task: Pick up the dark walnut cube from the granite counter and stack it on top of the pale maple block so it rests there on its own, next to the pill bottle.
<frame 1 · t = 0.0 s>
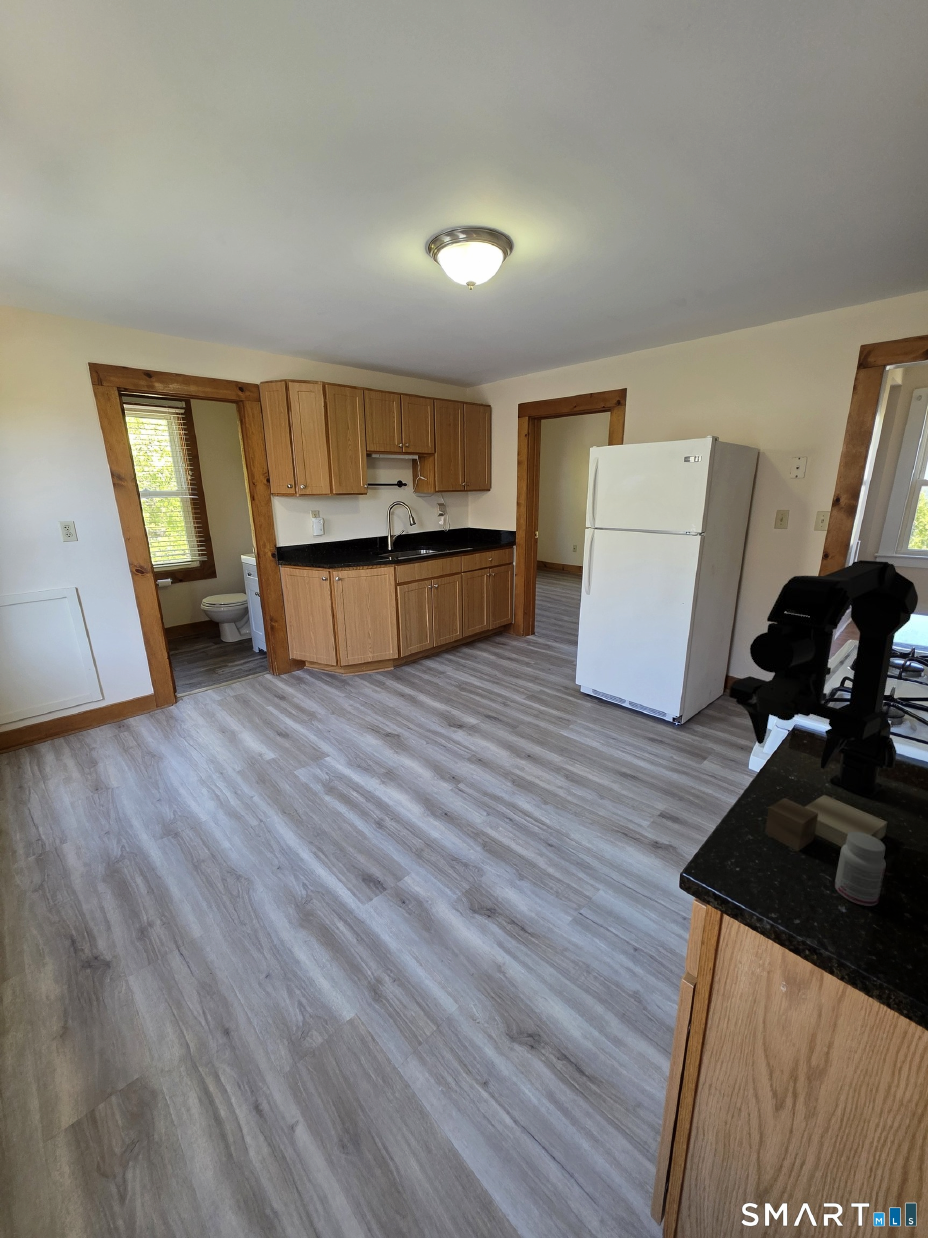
hand: (790, 754, 75), 15 cm above the countertop, fingers open, 9 cm apart
maple block: (839, 832, 80), on the countertop
pill bottle: (855, 895, 66), on the countertop
walnut cube: (788, 837, 78), on the countertop
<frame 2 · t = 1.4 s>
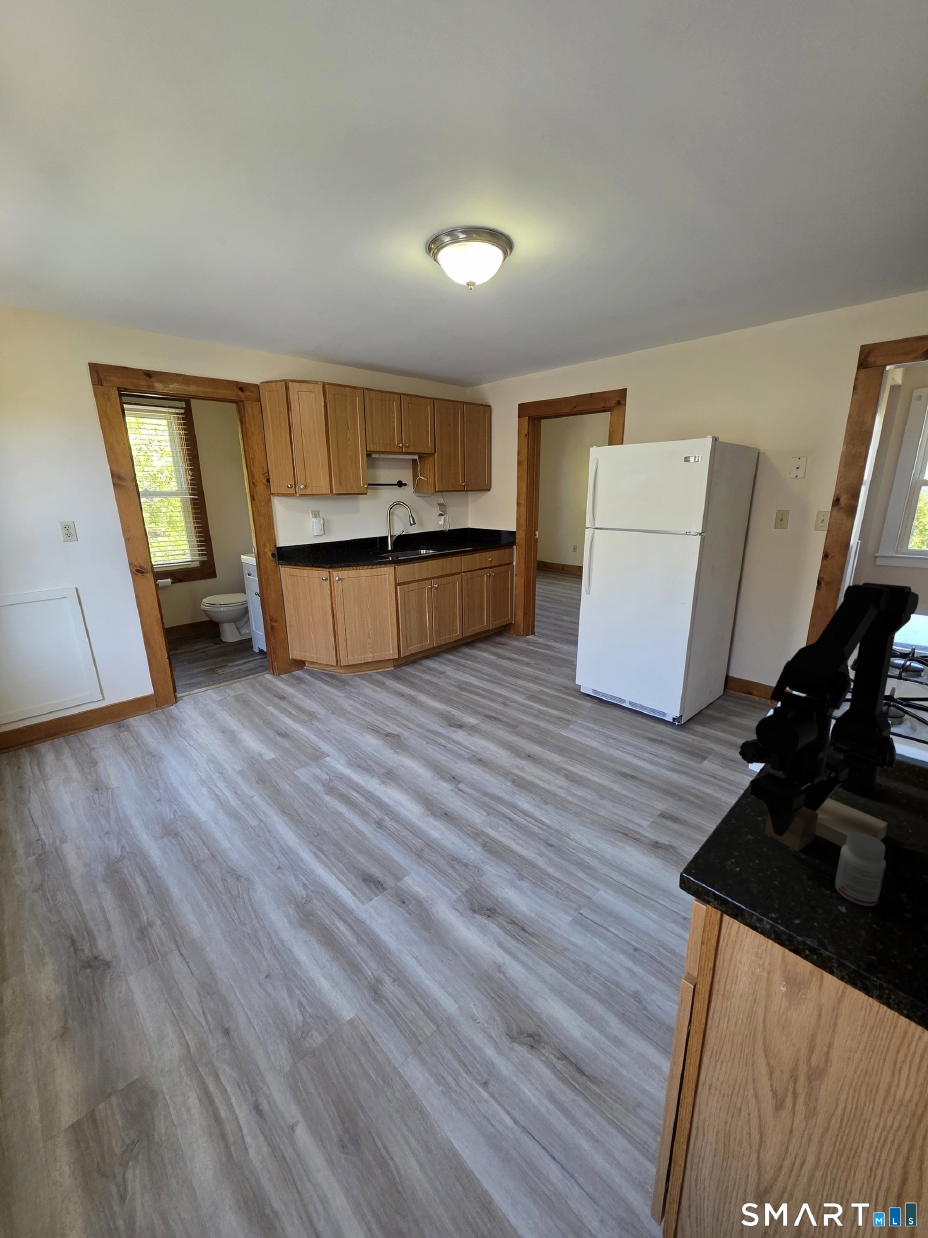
hand: (793, 825, 77), 2 cm above the countertop, fingers open, 9 cm apart
maple block: (839, 833, 80), on the countertop, touching gripper
everything else where it was.
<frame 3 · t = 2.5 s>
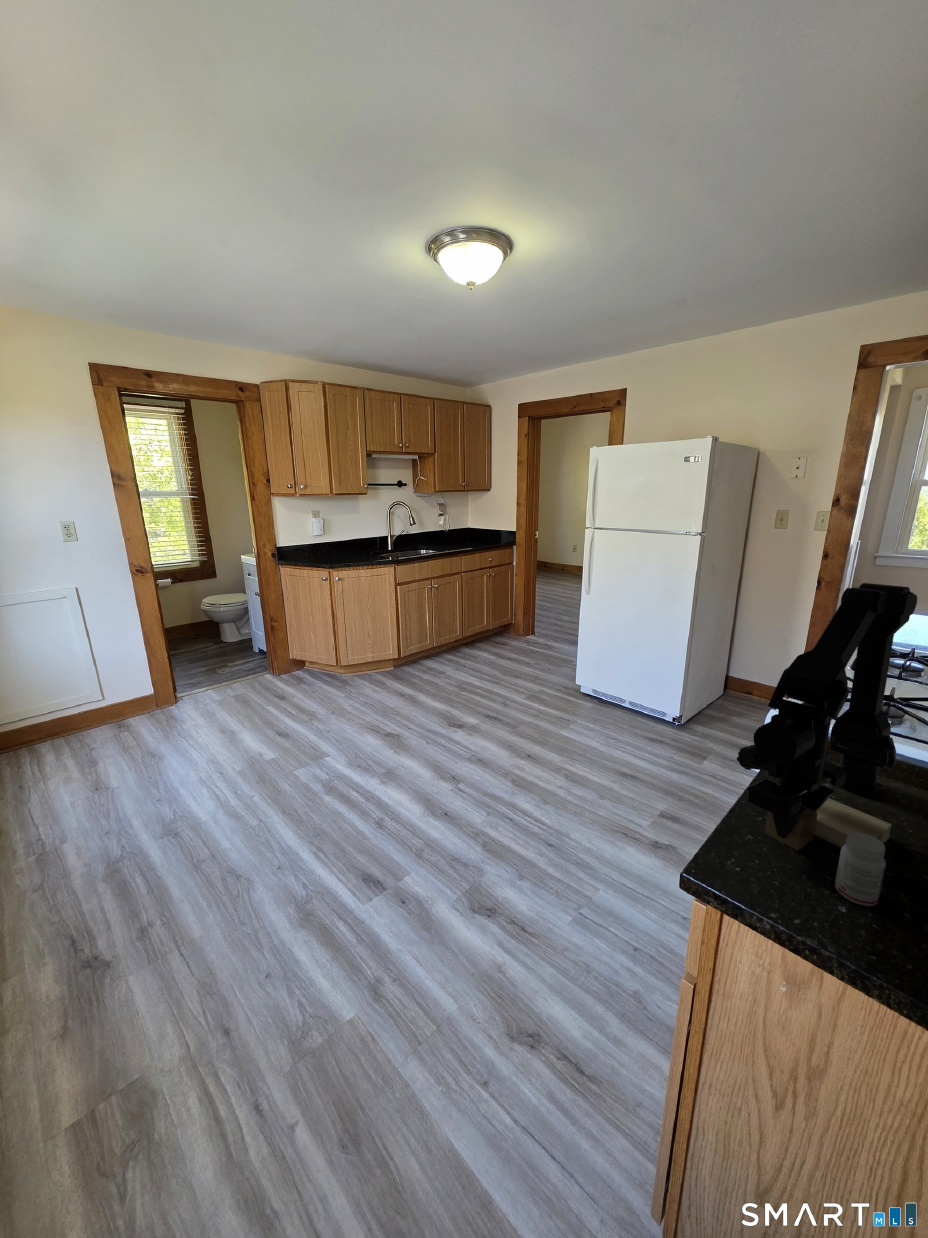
hand: (790, 831, 78), 1 cm above the countertop, fingers closed on walnut cube, 5 cm apart
maple block: (843, 835, 79), on the countertop
walnut cube: (788, 836, 78), on the countertop, touching gripper
everything else where it was.
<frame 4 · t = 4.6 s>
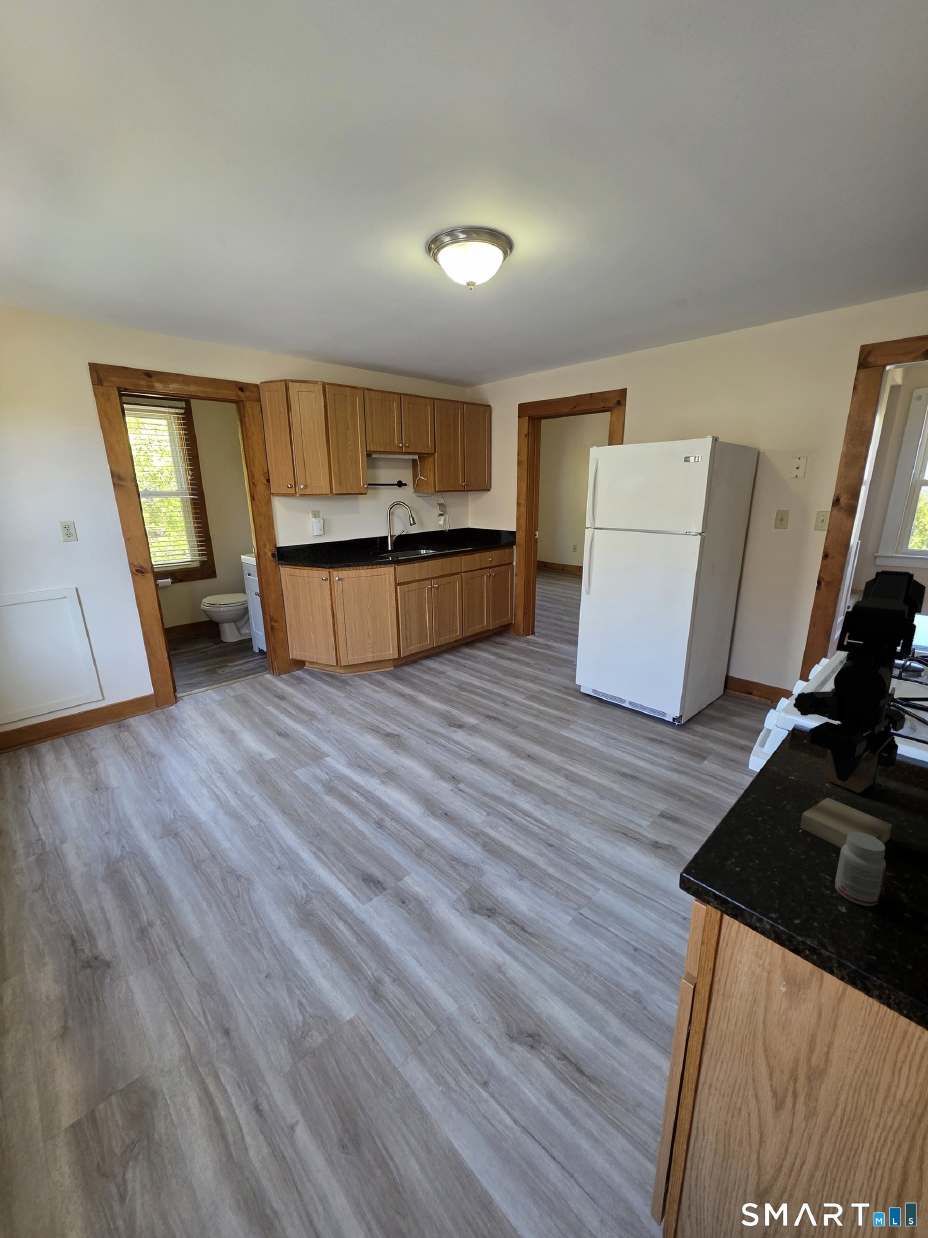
hand: (849, 775, 78), 10 cm above the countertop, fingers closed on walnut cube, 5 cm apart
walnut cube: (847, 781, 78), point 9 cm above the countertop, touching gripper
everything else where it was.
when the fingers open (4 cm above the countertop, at t = 6.6 s): walnut cube stays where it is, point 3 cm above the countertop.
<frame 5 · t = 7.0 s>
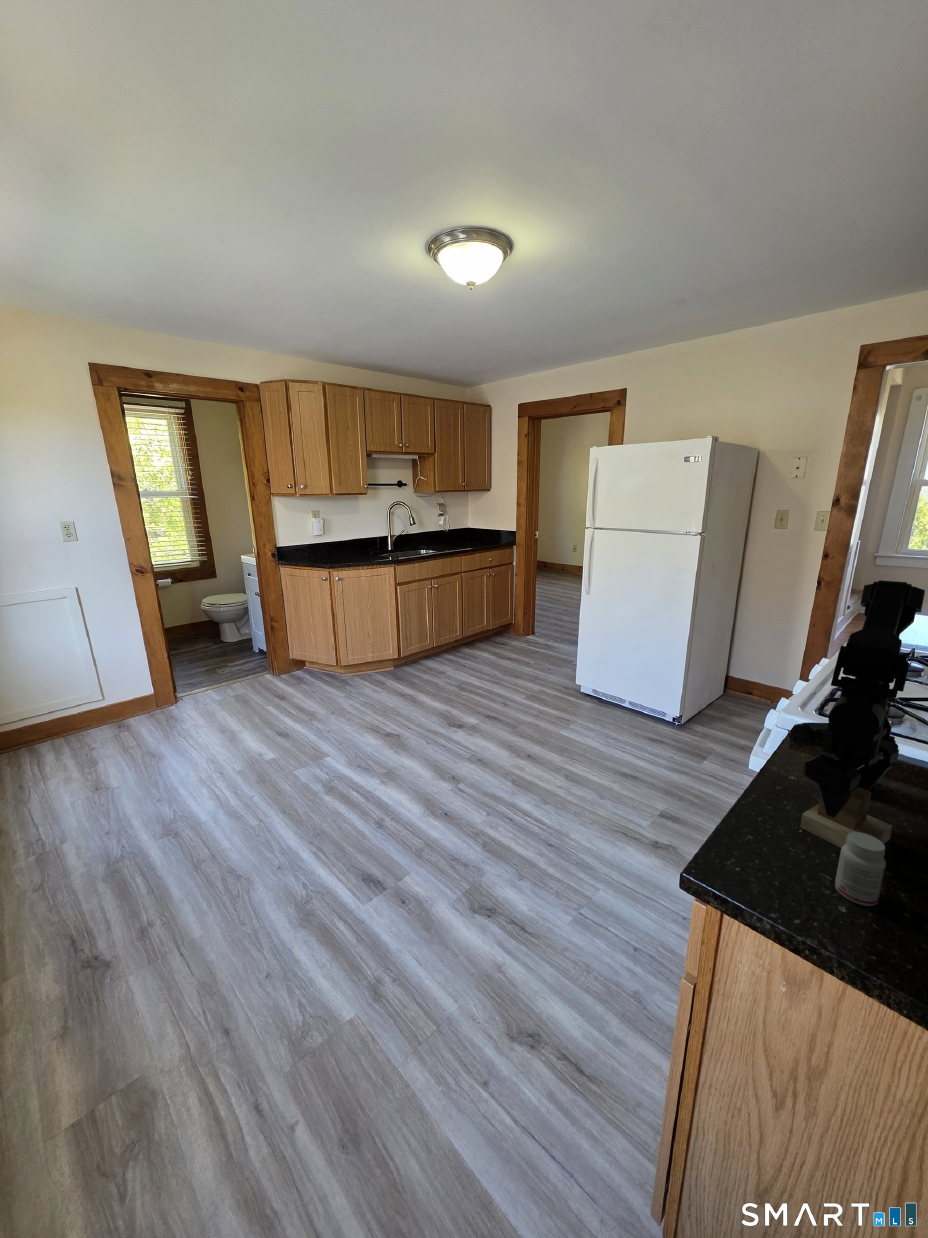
hand: (843, 807, 79), 4 cm above the countertop, fingers open, 9 cm apart
walnut cube: (841, 816, 79), point 3 cm above the countertop
everything else where it was.
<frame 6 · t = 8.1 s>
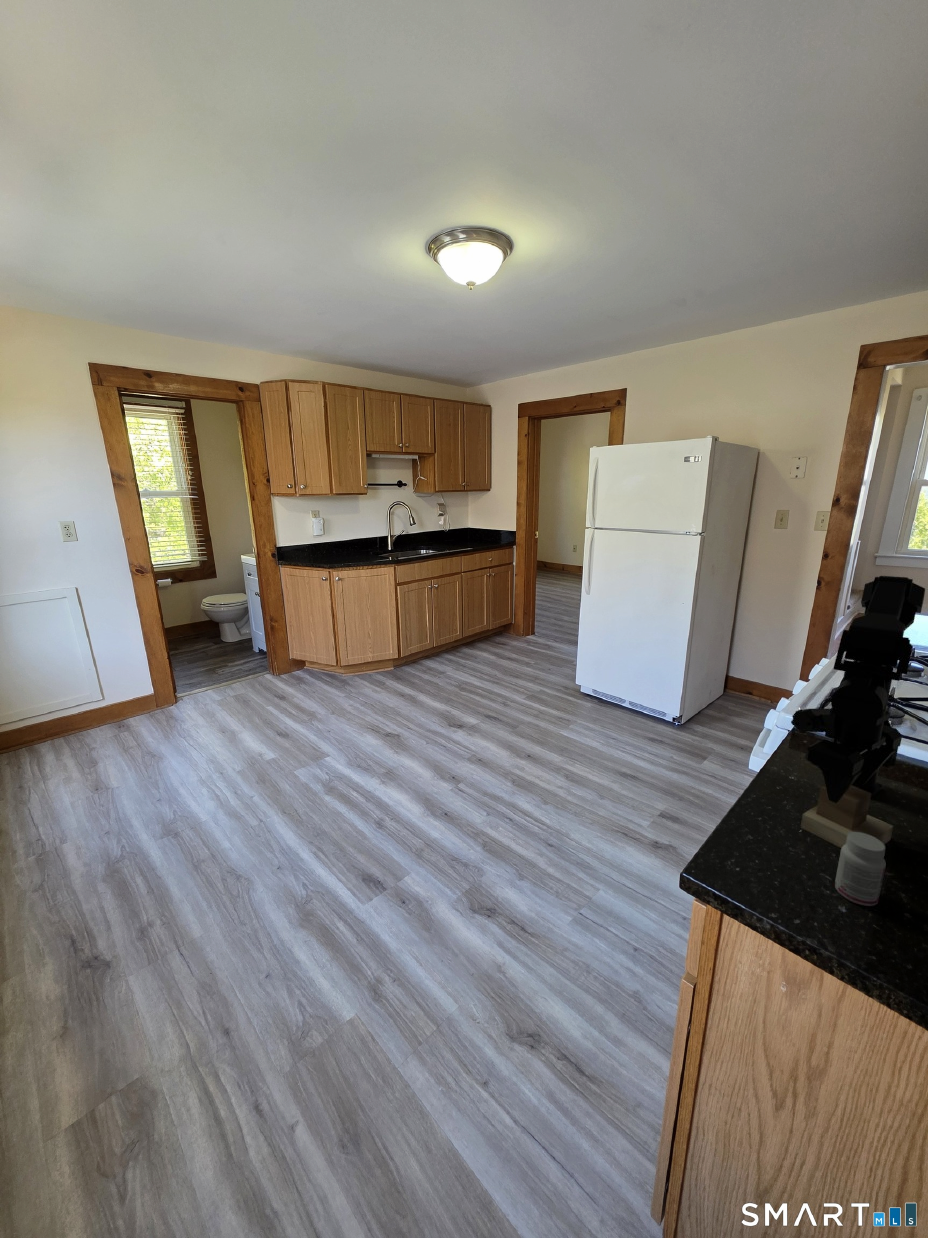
hand: (846, 792, 78), 7 cm above the countertop, fingers open, 9 cm apart
maple block: (844, 836, 79), on the countertop, touching walnut cube
walnut cube: (840, 817, 79), point 2 cm above the countertop, touching maple block
everything else where it was.
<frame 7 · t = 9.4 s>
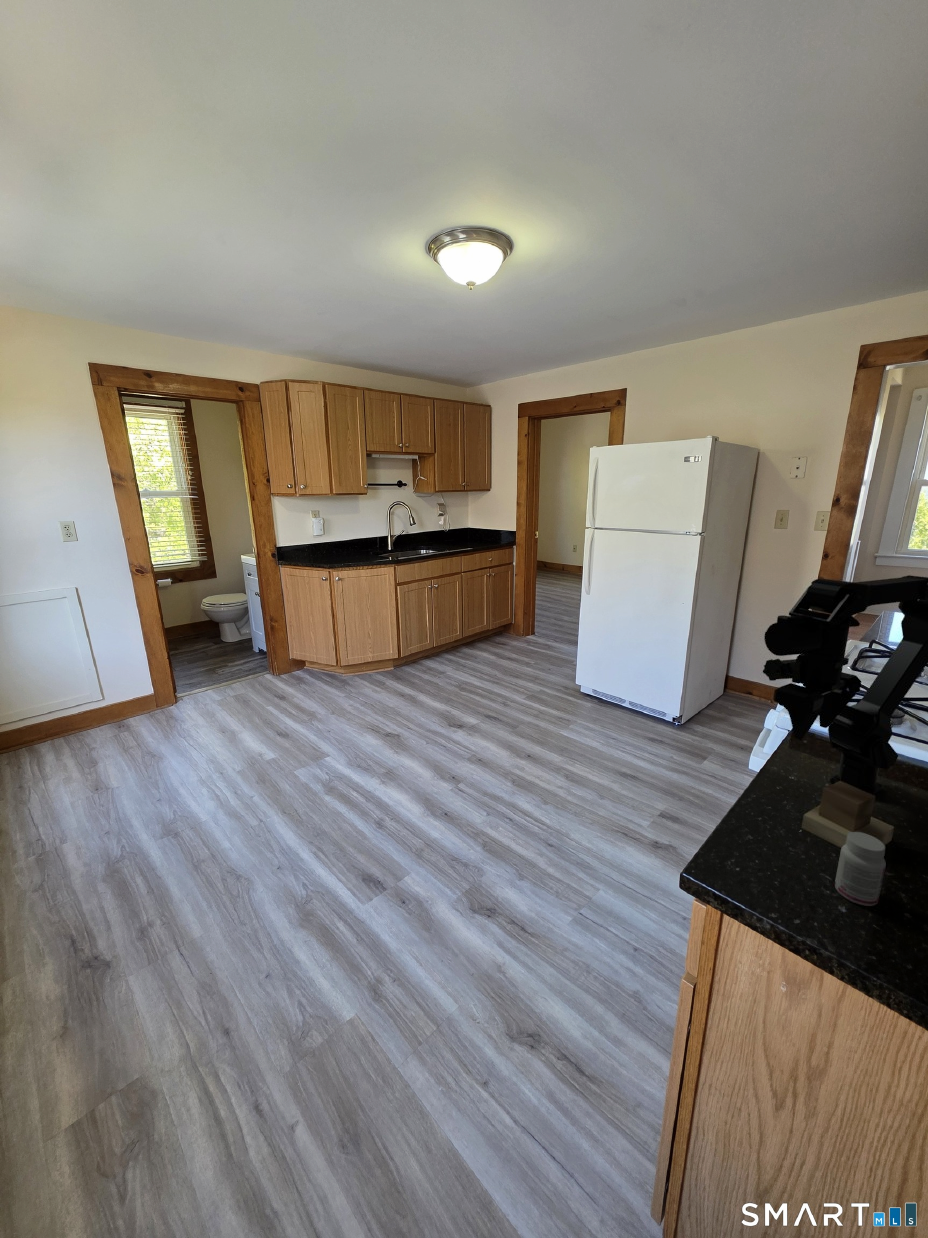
hand: (811, 733, 87), 12 cm above the countertop, fingers open, 9 cm apart
maple block: (844, 836, 79), on the countertop
walnut cube: (843, 819, 79), point 2 cm above the countertop
everything else where it was.
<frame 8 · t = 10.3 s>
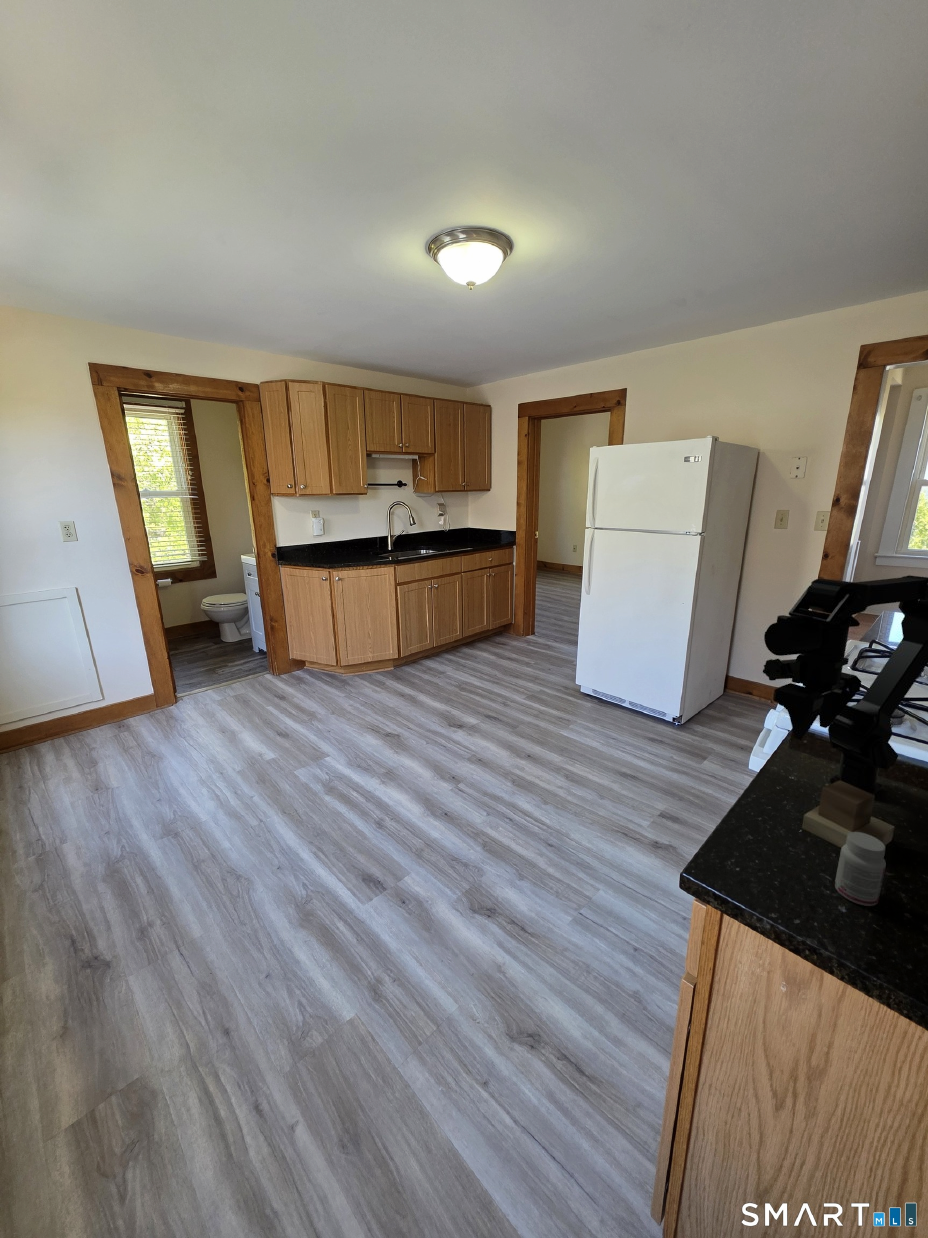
hand: (811, 733, 87), 13 cm above the countertop, fingers open, 9 cm apart
nothing on the countertop moved.
at the end: walnut cube inside the target area on the maple block (0.4 cm from its centre), point 3.0 cm above the maple block's base; walnut cube tilted 0°; the gripper is holding nothing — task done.
